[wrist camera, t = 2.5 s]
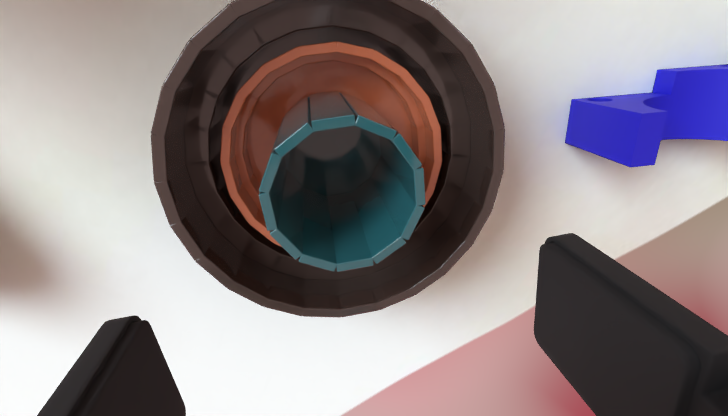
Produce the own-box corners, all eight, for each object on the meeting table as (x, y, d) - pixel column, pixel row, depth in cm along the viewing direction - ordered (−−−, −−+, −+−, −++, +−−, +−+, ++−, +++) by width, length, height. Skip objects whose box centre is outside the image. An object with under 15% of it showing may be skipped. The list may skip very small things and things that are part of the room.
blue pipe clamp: (736, 63, 27) (847, 68, 21) (716, 128, 28) (814, 147, 23) (575, 76, 25) (649, 84, 20) (565, 142, 27) (630, 167, 22)
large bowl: (456, -23, 22) (510, -47, 16) (460, 238, 29) (500, 287, 23) (150, 14, 21) (88, 2, 15) (231, 278, 28) (211, 342, 22)
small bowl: (416, 30, 23) (437, 28, 19) (427, 214, 28) (445, 239, 24) (210, 57, 22) (190, 60, 18) (258, 242, 27) (251, 273, 23)
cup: (379, 83, 23) (420, 104, 15) (390, 189, 26) (429, 256, 18) (265, 99, 23) (241, 130, 14) (288, 206, 25) (280, 282, 17)
